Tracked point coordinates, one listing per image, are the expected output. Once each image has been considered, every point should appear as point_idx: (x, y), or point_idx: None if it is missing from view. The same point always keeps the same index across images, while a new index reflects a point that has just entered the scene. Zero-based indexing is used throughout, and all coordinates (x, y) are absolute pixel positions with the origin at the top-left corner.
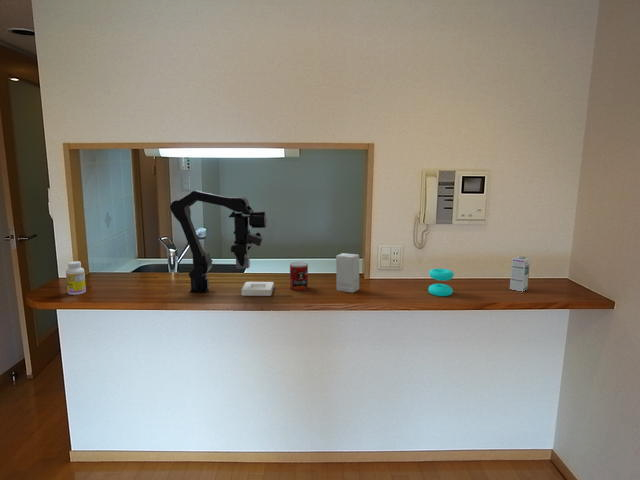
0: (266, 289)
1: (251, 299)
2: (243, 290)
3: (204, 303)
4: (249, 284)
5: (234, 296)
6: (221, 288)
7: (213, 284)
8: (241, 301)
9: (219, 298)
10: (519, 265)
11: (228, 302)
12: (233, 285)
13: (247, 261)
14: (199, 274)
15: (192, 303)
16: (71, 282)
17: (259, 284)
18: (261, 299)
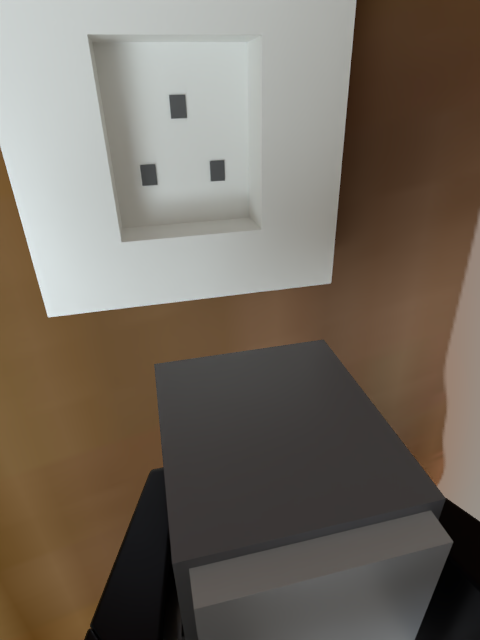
0: (342, 3)
1: (416, 158)
2: (328, 264)
3: (440, 418)
4: (149, 255)
5: (328, 308)
6: (134, 451)
7: (41, 528)
8: (449, 227)
9: (363, 382)
10: None
11: (451, 306)
12: (23, 407)
13: (388, 435)
14: None
15: (429, 465)
16: None
17: (106, 141)
18: (431, 59)
